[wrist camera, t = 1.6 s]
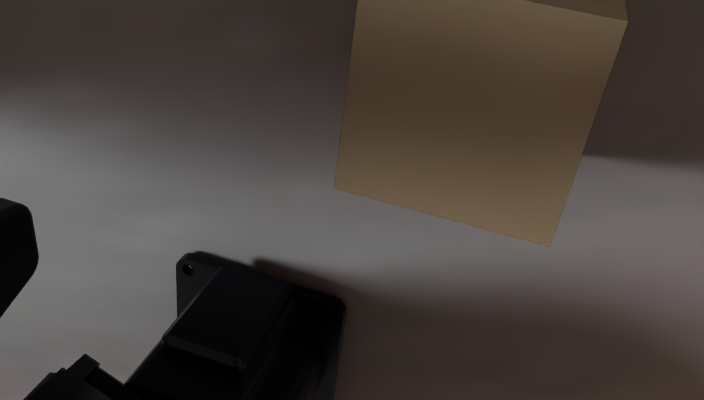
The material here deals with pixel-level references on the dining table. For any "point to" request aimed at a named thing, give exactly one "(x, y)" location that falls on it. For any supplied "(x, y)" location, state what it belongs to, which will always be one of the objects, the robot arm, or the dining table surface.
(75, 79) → the dining table surface
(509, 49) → the walnut cube
